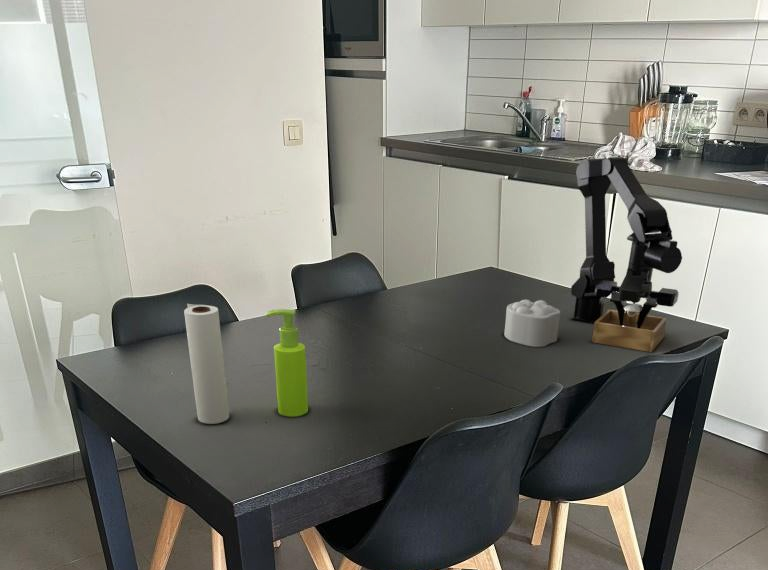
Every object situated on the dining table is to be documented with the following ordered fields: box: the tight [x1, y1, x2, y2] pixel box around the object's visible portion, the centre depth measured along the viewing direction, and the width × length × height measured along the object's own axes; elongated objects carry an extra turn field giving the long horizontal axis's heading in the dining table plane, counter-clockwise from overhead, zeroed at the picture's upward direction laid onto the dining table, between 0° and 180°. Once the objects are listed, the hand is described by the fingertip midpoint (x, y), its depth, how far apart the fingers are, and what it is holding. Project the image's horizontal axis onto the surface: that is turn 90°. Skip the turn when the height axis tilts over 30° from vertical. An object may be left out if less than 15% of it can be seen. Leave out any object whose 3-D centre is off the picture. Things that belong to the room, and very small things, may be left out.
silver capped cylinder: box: [622, 302, 643, 328], centre depth 189 cm, size 4×5×10 cm
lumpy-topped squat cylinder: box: [503, 299, 561, 348], centre depth 190 cm, size 10×13×9 cm
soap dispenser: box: [265, 308, 309, 418], centre depth 147 cm, size 6×7×20 cm
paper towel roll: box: [183, 303, 230, 425], centre depth 144 cm, size 7×6×21 cm
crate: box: [591, 309, 668, 353], centre depth 190 cm, size 15×13×5 cm
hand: (630, 328), depth 190 cm, fingers closed on silver capped cylinder, 4 cm apart
